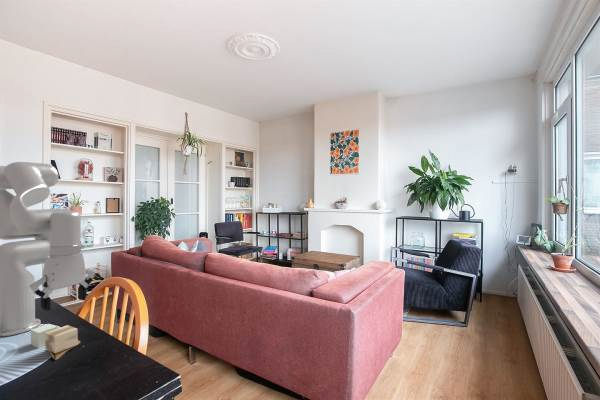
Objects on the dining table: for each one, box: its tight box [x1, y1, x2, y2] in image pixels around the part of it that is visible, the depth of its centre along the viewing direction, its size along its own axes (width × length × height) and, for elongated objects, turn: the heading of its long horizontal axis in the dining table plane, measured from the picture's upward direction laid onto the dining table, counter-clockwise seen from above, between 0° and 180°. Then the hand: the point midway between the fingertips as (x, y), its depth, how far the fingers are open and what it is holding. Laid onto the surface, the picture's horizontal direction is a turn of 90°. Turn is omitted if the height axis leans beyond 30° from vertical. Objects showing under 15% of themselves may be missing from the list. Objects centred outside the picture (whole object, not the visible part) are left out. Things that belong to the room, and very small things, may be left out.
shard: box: [47, 340, 81, 361], centre depth 91 cm, size 11×8×2 cm
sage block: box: [30, 323, 58, 349], centre depth 96 cm, size 5×5×5 cm
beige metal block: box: [44, 324, 79, 353], centre depth 92 cm, size 6×6×5 cm
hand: (64, 304), depth 93 cm, fingers open, 9 cm apart
